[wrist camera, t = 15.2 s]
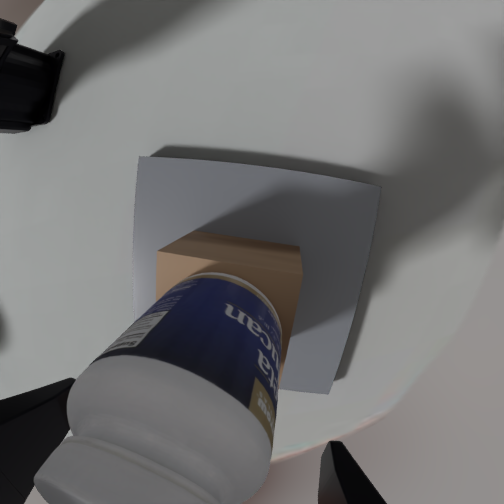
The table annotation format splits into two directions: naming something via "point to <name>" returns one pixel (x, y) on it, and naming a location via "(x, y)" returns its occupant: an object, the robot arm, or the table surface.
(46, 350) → the table surface
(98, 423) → the pill bottle
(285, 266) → the tan wooden block
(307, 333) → the base plate
